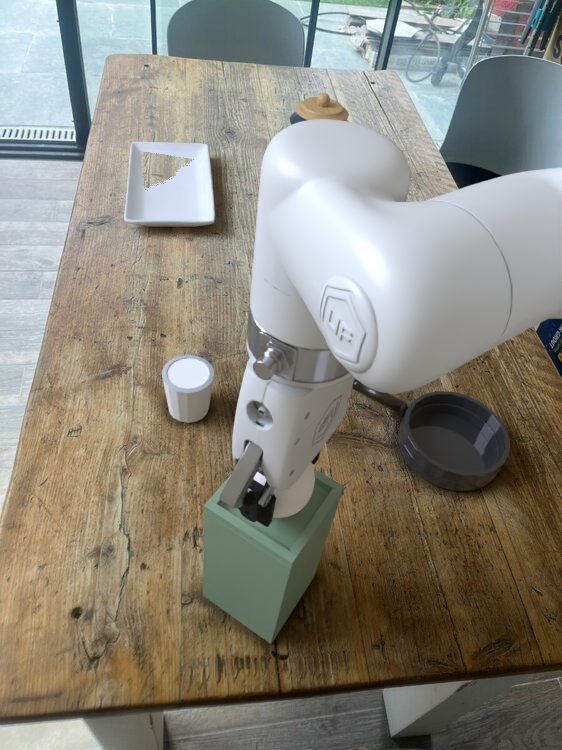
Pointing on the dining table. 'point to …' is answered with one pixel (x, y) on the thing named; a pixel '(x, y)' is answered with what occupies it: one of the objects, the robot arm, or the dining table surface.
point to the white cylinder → (188, 387)
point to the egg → (292, 493)
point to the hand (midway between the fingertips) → (278, 482)
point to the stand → (265, 557)
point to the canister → (319, 109)
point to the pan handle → (381, 397)
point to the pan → (453, 440)
